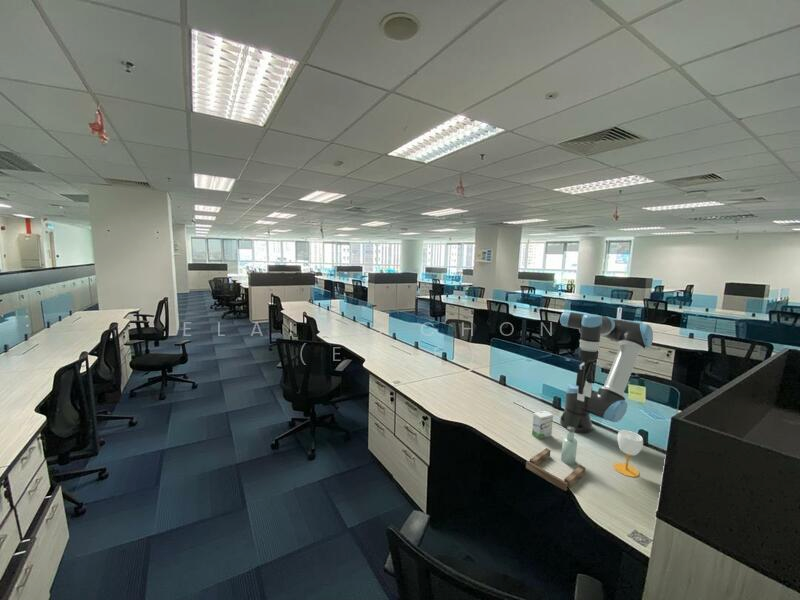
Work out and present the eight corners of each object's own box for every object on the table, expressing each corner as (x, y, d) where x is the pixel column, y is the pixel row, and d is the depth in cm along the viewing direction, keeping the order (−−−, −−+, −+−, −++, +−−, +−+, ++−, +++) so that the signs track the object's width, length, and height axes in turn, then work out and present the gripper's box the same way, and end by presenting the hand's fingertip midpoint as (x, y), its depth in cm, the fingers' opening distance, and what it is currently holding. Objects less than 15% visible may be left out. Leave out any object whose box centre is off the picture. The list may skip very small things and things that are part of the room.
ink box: (538, 439, 160) (540, 417, 159) (531, 434, 165) (533, 412, 163) (551, 436, 163) (553, 414, 162) (544, 431, 168) (546, 410, 166)
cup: (640, 469, 139) (645, 435, 136) (637, 480, 132) (642, 444, 130) (615, 460, 145) (619, 427, 142) (611, 470, 138) (616, 435, 136)
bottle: (564, 455, 148) (567, 423, 146) (577, 461, 143) (580, 429, 141) (558, 459, 145) (561, 427, 142) (571, 466, 140) (574, 433, 138)
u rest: (545, 454, 149) (546, 448, 148) (584, 474, 135) (585, 467, 135) (525, 468, 139) (526, 461, 138) (565, 491, 125) (566, 484, 125)
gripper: (589, 343, 152) (584, 390, 155) (570, 350, 140) (565, 400, 143) (607, 347, 146) (601, 395, 149) (588, 355, 134) (583, 407, 137)
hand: (583, 398), depth 146 cm, fingers open, 6 cm apart
